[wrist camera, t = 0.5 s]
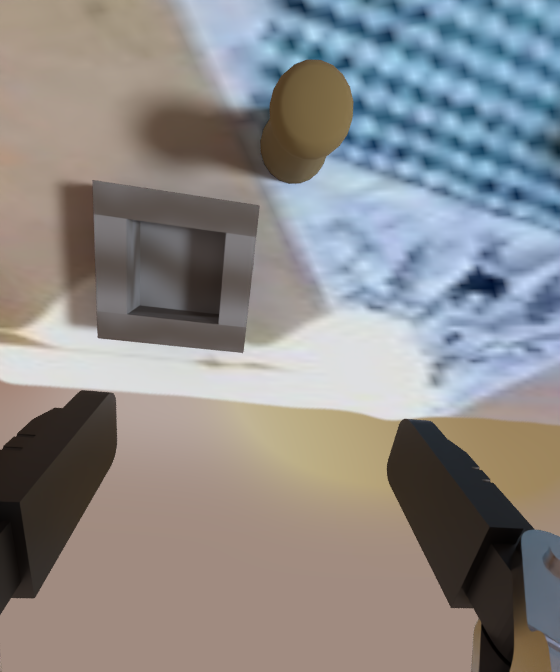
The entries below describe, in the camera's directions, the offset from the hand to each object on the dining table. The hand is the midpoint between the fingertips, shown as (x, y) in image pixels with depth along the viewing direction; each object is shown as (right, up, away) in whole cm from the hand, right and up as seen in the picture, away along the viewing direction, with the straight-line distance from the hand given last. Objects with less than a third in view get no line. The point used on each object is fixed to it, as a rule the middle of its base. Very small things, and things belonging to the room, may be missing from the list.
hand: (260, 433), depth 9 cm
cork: (+2, +20, +20) cm, 28 cm away
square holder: (-9, +9, +23) cm, 26 cm away
